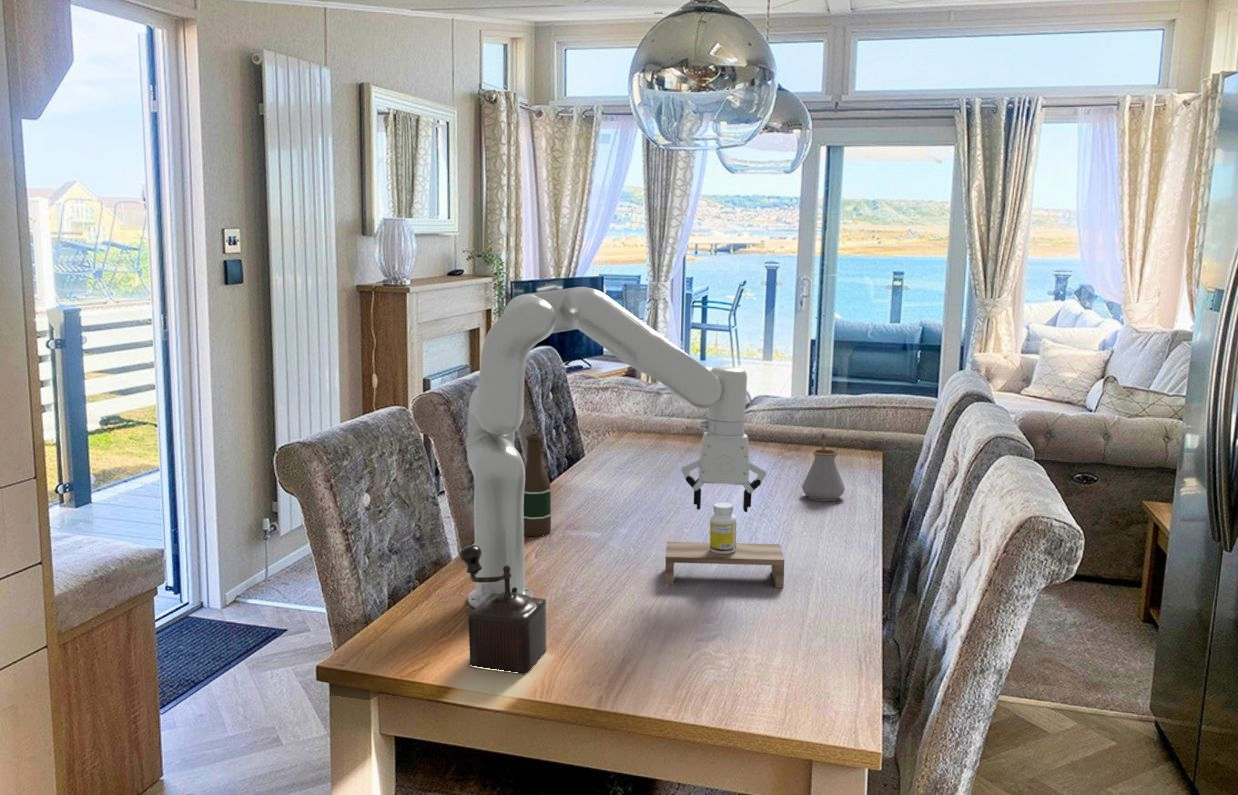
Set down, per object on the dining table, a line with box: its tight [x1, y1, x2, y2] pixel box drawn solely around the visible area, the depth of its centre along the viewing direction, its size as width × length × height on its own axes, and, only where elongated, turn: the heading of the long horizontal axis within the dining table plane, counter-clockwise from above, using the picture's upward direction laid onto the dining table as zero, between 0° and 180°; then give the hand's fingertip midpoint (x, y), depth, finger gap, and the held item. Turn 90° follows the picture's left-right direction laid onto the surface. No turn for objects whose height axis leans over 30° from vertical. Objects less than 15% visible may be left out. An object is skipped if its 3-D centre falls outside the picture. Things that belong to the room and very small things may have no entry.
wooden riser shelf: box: [664, 541, 785, 589], centre depth 203 cm, size 10×24×6 cm, turn 86°
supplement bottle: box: [709, 502, 737, 554], centre depth 202 cm, size 5×5×10 cm
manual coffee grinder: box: [459, 544, 547, 674], centre depth 165 cm, size 16×11×18 cm
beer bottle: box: [524, 433, 552, 537], centre depth 232 cm, size 8×8×24 cm
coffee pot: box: [801, 432, 846, 502], centre depth 269 cm, size 21×12×15 cm, turn 169°
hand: (721, 509), depth 201 cm, fingers open, 9 cm apart
